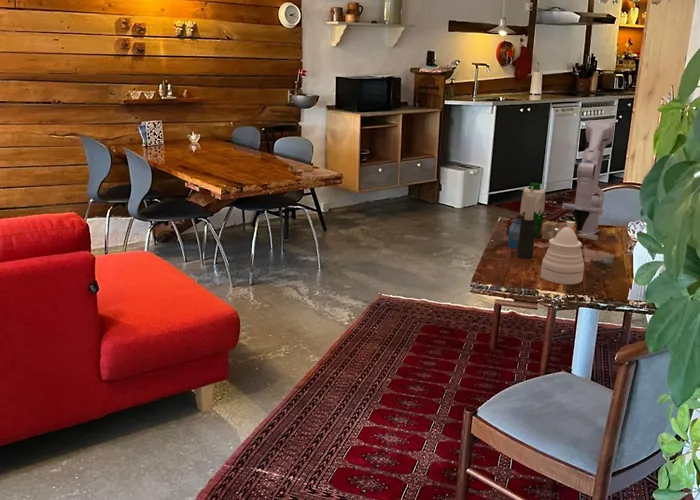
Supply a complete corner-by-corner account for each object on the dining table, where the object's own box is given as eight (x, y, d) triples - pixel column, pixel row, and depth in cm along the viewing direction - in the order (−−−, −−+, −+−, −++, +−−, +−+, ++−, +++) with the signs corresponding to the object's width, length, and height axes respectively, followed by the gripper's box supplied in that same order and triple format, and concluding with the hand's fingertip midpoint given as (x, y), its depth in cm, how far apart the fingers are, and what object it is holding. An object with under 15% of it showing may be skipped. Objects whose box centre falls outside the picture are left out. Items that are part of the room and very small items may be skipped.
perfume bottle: (524, 244, 250) (527, 213, 247) (527, 249, 245) (530, 217, 241) (507, 243, 251) (510, 212, 247) (509, 248, 245) (512, 216, 242)
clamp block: (541, 238, 259) (543, 223, 257) (546, 235, 263) (548, 221, 261) (551, 240, 257) (553, 225, 255) (556, 237, 261) (558, 222, 259)
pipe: (543, 231, 259) (544, 226, 259) (545, 230, 261) (546, 225, 260) (596, 241, 248) (596, 235, 247) (597, 240, 250) (598, 234, 249)
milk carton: (541, 233, 267) (547, 183, 261) (540, 239, 258) (546, 187, 253) (518, 230, 269) (523, 181, 263) (517, 236, 261) (522, 185, 255)
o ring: (567, 242, 253) (569, 227, 251) (572, 239, 257) (574, 224, 256) (572, 243, 252) (574, 228, 250) (577, 240, 256) (579, 224, 254)
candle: (532, 259, 233) (540, 188, 226) (517, 257, 234) (524, 187, 227) (531, 254, 238) (539, 185, 231) (517, 253, 239) (524, 184, 232)
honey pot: (550, 268, 224) (556, 216, 219) (588, 277, 216) (596, 223, 211) (533, 277, 214) (540, 223, 209) (573, 287, 206) (580, 230, 201)
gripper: (561, 193, 249) (556, 229, 253) (600, 199, 241) (595, 235, 245) (567, 190, 254) (563, 225, 258) (606, 196, 246) (601, 232, 250)
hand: (579, 230), depth 252 cm, fingers closed
